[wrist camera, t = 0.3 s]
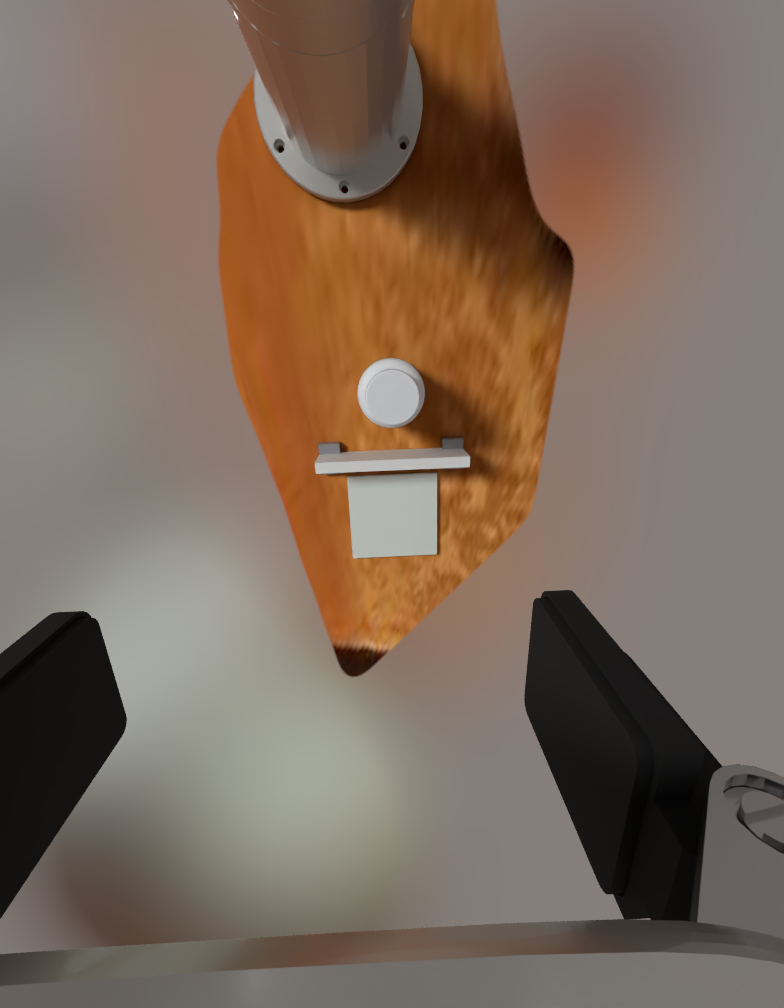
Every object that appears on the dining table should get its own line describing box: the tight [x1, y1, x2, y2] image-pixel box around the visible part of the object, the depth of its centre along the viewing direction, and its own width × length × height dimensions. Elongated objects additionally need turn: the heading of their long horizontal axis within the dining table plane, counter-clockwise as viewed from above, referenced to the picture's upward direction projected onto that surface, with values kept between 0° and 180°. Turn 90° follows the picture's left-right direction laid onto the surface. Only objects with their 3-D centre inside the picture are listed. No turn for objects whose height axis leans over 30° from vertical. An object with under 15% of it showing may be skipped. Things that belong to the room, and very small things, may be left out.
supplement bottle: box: [358, 357, 425, 428], centre depth 36 cm, size 5×5×10 cm
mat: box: [347, 472, 437, 558], centre depth 44 cm, size 9×9×1 cm
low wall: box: [315, 437, 470, 475], centre depth 41 cm, size 3×14×4 cm, turn 92°
